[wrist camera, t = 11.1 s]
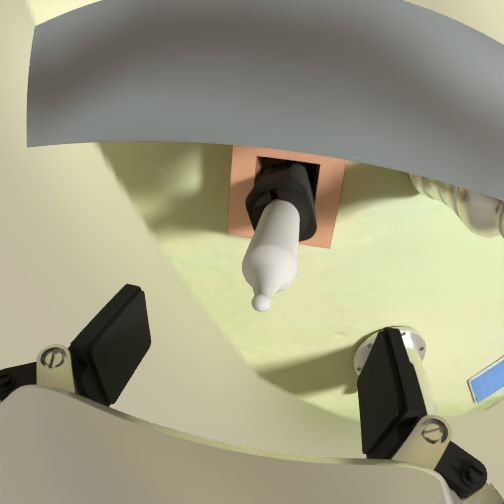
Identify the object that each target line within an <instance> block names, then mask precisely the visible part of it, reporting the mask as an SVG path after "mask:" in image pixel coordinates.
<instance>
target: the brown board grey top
mask: <svg viewBox="0 0 504 504" xmlns="http://www.w3.org/2000/svg"><path fill="white" fill-rule="evenodd" d="M115 141H163V142H192V143H210V144H225V145H237V146H248V147H258V148H268V149H276V150H284V151H292V152H300V153H307V154H313V155H320V156H326V157H332V158H338V159H344V160H349V161H354V162H360V163H365V164H370V165H375V166H379V167H384V168H389V169H393V170H398V171H402V172H406V173H410V174H414V175H418V176H422V177H426V178H430V179H434V180H437V181H441V182H445V183H448V184H452V185H455V186H458V187H462V188H465V189H468V190H471V191H475V192H478V193H481V194H484V195H487V196H490V197H493V198H496V199H499V200H501V201H504V45H503V44H501V43H499V42H497V41H496V40H494V39H492V38H490V37H488V36H487V35H485V34H483V33H481V32H479V31H477V30H475V29H473V28H471V27H469V26H467V25H465V24H463V23H460V22H458V21H456V20H454V19H451V18H449V17H447V16H444V15H442V14H439V13H437V12H434V11H432V10H429V9H426V8H423V7H421V6H418V5H415V4H412V3H409V2H406V1H403V0H101V1H98V2H95V3H92V4H89V5H86V6H83V7H81V8H78V9H75V10H72V11H70V12H67V13H65V14H62V15H60V16H57V17H55V18H53V19H50V20H48V21H46V22H44V23H42V24H39V25H37V26H35V30H34V36H33V42H32V50H31V57H30V67H29V77H28V91H27V147H36V146H45V145H57V144H70V143H86V142H115Z"/></svg>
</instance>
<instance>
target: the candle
mask: <svg viewBox="0 0 504 504" xmlns="http://www.w3.org/2000/svg"><path fill="white" fill-rule="evenodd" d="M245 206H246V210H247V212H248V215H249V218H250V221H251V224H252V227H253V230H254V235H253V237H252V240H251V242H250V244H249V247H248V249H247V252H246V254H245V257H244V259H243V263H242V271H243V275H244V277H245V279H246V281H247V282H248V283H249V284H250V285H251V286H252V287H253V291H254V295H255V296H254V297H253V299H252V306H253V308H254V309H255V310H257V311H259V312H264V311H267V310H268V309H269V308H270V306H271V298H272V297H273V296H274V295H275V294H276V293H277V292H280V291H283V290H285V289H286V288H288V287H289V286H290V285H291V284H292V283H293V281H294V279H295V277H296V273H297V263H298V244H299V242H301V241H305V240H308V239H310V238H312V237H313V236H314V234H315V233H316V231H317V222H316V213H315V205H314V197H313V190H312V185H311V182H310V178H309V175H308V171H307V168H306V165H305V163H304V162H301V161H294V160H292V161H290V162H286V163H283V164H279V165H276V166H273V165H270V166H268V167H267V168H266V170H265V171H264V172H263V174H262V175H261V177H260V178H259V180H258V181H257V183H256V184H255V185H254V187H253V188H252V190H251V191H250V193H249V194H248V196H247V197H246V200H245Z"/></svg>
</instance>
